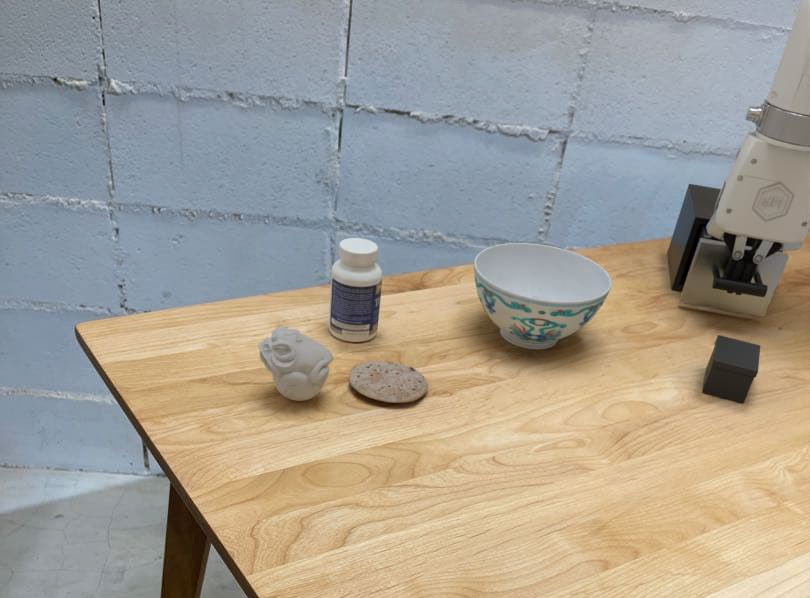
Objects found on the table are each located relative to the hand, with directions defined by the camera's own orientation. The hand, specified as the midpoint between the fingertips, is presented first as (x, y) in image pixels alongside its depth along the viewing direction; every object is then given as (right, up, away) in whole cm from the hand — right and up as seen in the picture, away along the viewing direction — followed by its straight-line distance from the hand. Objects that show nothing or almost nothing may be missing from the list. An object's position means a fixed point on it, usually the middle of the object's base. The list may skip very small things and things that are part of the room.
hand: (732, 289), depth 101 cm
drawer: (+1, +1, +6) cm, 7 cm away
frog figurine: (-50, -17, -20) cm, 56 cm away
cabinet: (+2, +6, +13) cm, 15 cm away
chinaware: (-25, -7, -5) cm, 27 cm away
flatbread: (-41, -15, -17) cm, 47 cm away
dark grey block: (-4, -13, -9) cm, 17 cm away
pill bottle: (-45, -7, -9) cm, 47 cm away
